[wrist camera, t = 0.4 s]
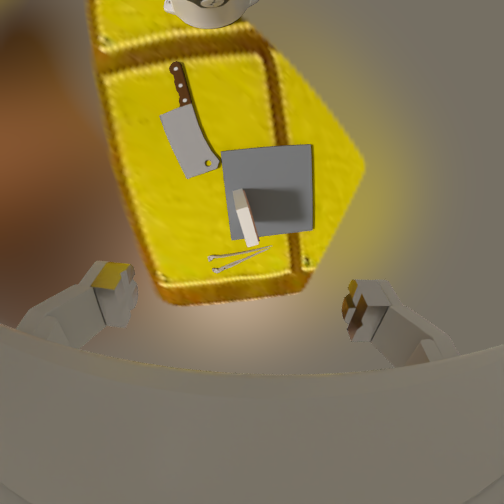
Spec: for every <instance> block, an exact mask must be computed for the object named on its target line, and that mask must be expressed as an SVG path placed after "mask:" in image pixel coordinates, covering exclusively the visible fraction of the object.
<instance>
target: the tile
mask: <svg viewBox="0 0 504 504" xmlns="http://www.w3.org/2000/svg"><path fill="white" fill-rule="evenodd" d="M233 196H234V202H235V207H236V212H237V215H238V218H239V221H240V225H241V228H242V231H243V234H244V238H245V241H246V244H247V247H251V246H254V245H257V244H259V243H258V241H260V240H259V237H258V233H257V229H256V226H255V222H254V219H253V215H252V212H251V208H250V205H249V202H248V200H247V197H246V194H245V191H244V190H243V189H238V190H235V191H233Z"/></svg>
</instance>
